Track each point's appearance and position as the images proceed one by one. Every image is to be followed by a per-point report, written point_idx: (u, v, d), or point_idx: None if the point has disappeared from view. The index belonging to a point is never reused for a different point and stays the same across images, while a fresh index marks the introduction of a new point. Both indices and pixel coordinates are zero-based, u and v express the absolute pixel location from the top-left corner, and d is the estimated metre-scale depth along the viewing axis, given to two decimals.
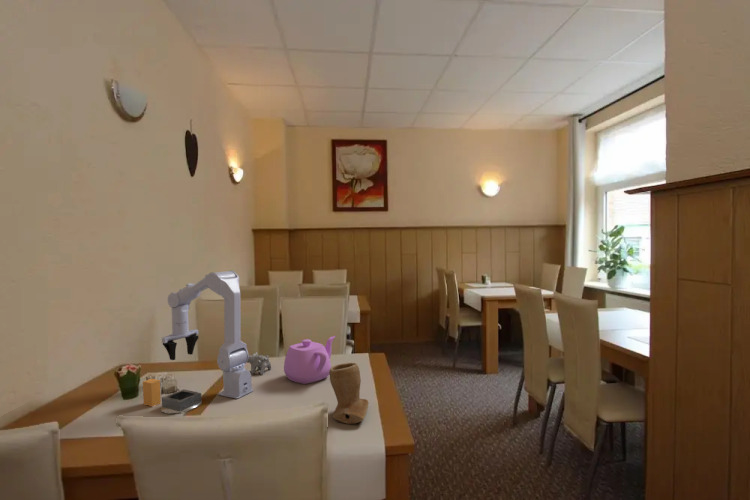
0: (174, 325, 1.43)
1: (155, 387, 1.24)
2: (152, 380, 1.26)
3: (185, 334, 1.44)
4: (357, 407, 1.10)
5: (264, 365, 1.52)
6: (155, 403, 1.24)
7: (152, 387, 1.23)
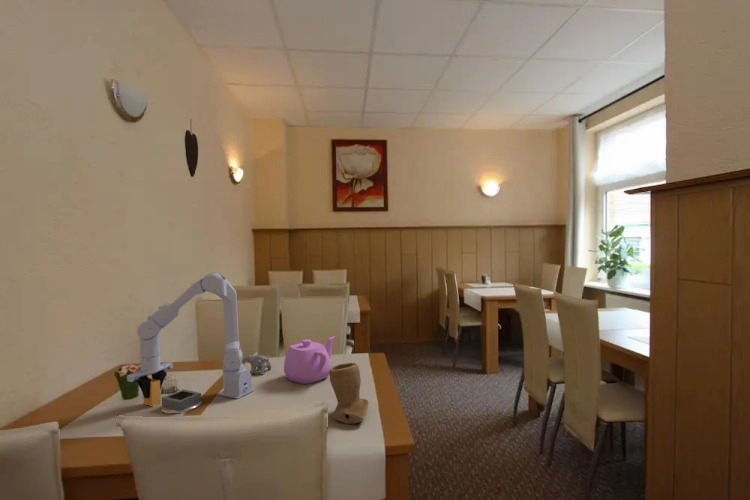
0: (142, 360, 1.23)
1: (155, 387, 1.24)
2: (152, 380, 1.26)
3: (156, 370, 1.24)
4: (357, 407, 1.10)
5: (264, 365, 1.52)
6: (155, 403, 1.24)
7: (152, 387, 1.23)
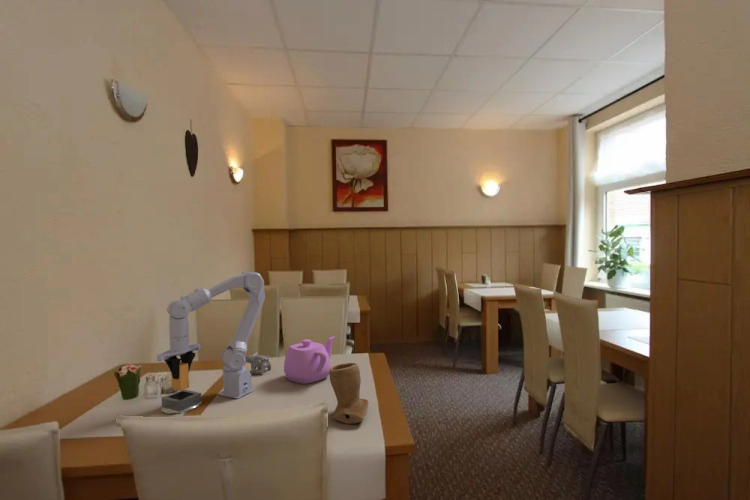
0: (172, 339, 1.20)
1: (184, 370, 1.22)
2: (180, 363, 1.24)
3: (185, 350, 1.22)
4: (357, 407, 1.10)
5: (264, 365, 1.52)
6: (184, 386, 1.22)
7: (181, 370, 1.21)
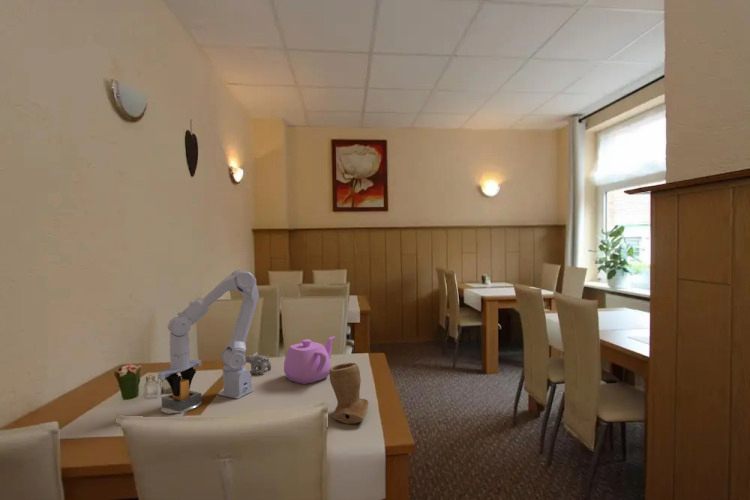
0: (172, 357, 1.20)
1: (185, 387, 1.22)
2: (181, 379, 1.24)
3: (185, 367, 1.22)
4: (357, 407, 1.10)
5: (264, 365, 1.52)
6: None
7: (182, 387, 1.21)
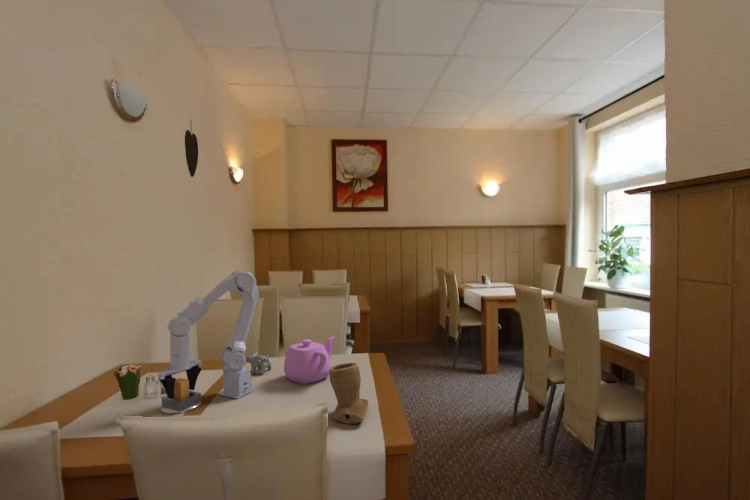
0: (173, 357, 1.20)
1: (185, 387, 1.22)
2: (181, 379, 1.24)
3: (186, 367, 1.22)
4: (357, 408, 1.10)
5: (264, 365, 1.52)
6: None
7: (182, 387, 1.21)
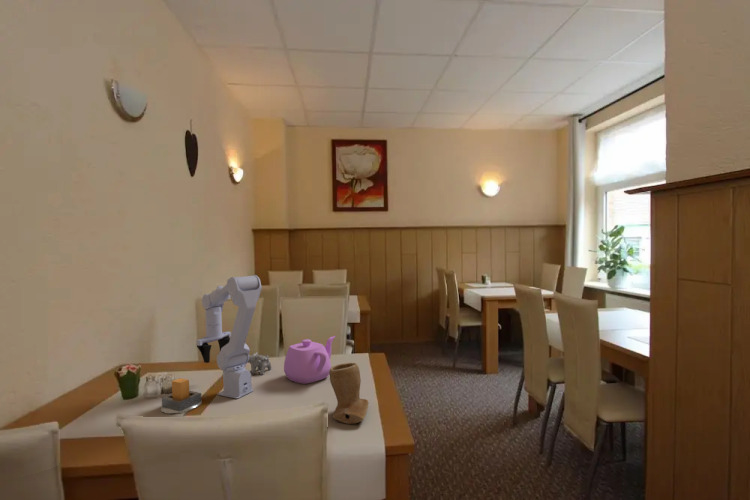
0: (208, 327, 1.40)
1: (185, 387, 1.22)
2: (181, 379, 1.24)
3: (219, 336, 1.41)
4: (357, 408, 1.10)
5: (264, 365, 1.52)
6: None
7: (182, 387, 1.21)
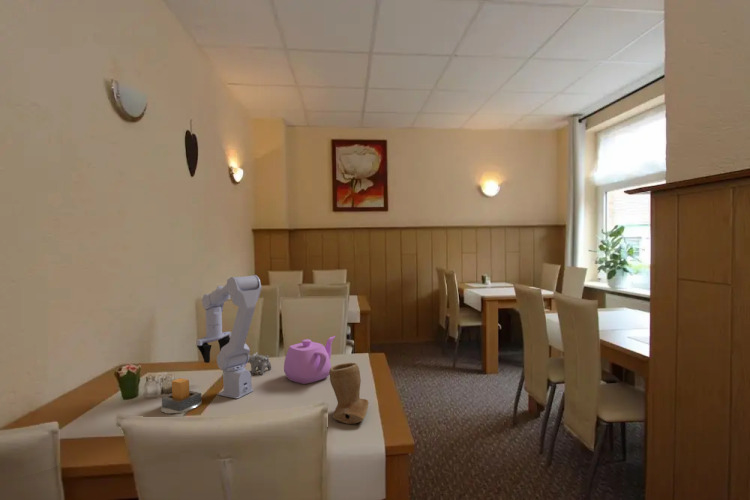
0: (208, 327, 1.40)
1: (185, 387, 1.22)
2: (181, 379, 1.24)
3: (219, 336, 1.41)
4: (357, 408, 1.10)
5: (264, 365, 1.52)
6: None
7: (182, 387, 1.21)
